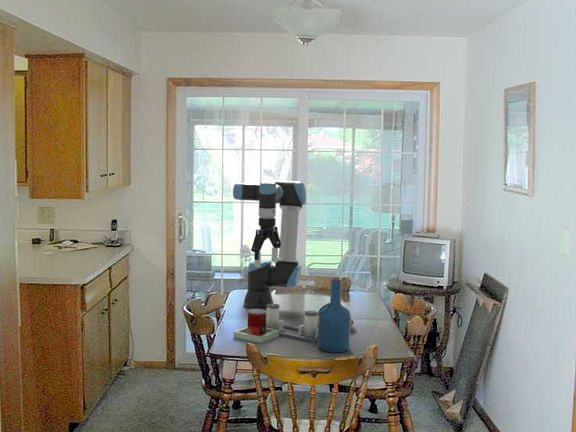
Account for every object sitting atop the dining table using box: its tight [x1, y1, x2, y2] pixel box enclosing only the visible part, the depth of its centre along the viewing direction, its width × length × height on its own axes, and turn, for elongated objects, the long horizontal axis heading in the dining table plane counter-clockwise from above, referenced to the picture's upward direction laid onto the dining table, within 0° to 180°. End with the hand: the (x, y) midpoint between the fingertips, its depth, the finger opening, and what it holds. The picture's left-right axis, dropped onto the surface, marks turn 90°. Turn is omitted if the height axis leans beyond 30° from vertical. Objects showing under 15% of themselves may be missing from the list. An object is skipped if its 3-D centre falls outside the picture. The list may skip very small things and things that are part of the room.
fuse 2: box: [303, 310, 318, 339], centre depth 297 cm, size 6×6×11 cm
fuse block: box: [277, 319, 318, 343], centre depth 303 cm, size 31×13×4 cm, turn 58°
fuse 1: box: [266, 303, 280, 330], centre depth 308 cm, size 6×6×11 cm
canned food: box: [247, 308, 267, 336], centre depth 294 cm, size 8×8×11 cm
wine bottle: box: [317, 275, 352, 354], centre depth 280 cm, size 14×13×30 cm
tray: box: [232, 326, 280, 345], centre depth 294 cm, size 14×14×3 cm
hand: (266, 264), depth 307 cm, fingers open, 13 cm apart
